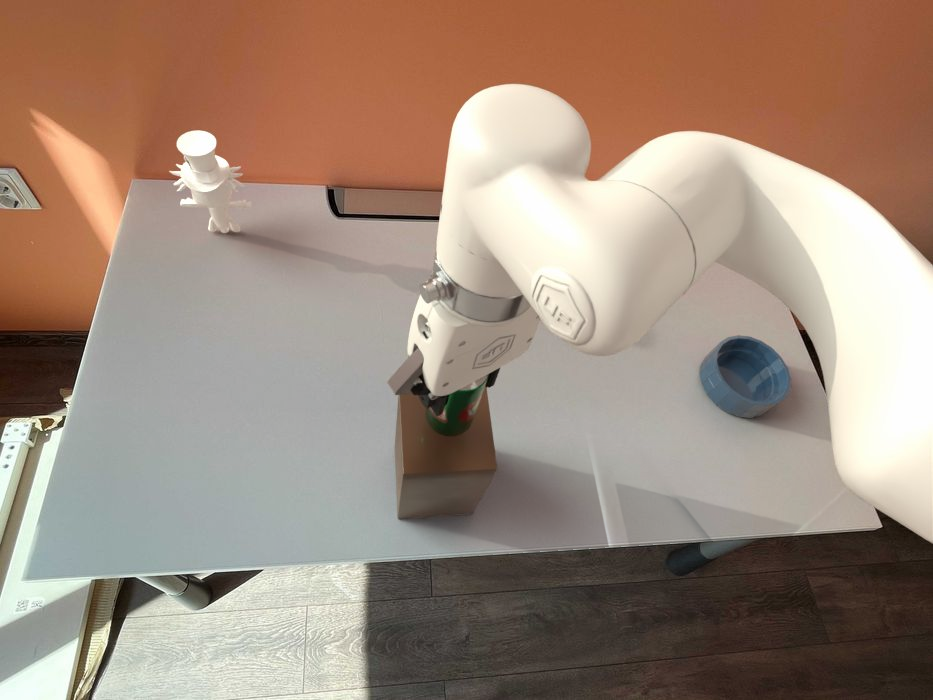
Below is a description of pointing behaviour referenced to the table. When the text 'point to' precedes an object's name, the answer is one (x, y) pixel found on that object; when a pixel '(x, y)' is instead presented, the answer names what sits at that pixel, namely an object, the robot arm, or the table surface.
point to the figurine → (208, 179)
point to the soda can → (458, 410)
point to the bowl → (745, 376)
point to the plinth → (441, 462)
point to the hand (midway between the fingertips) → (457, 387)
